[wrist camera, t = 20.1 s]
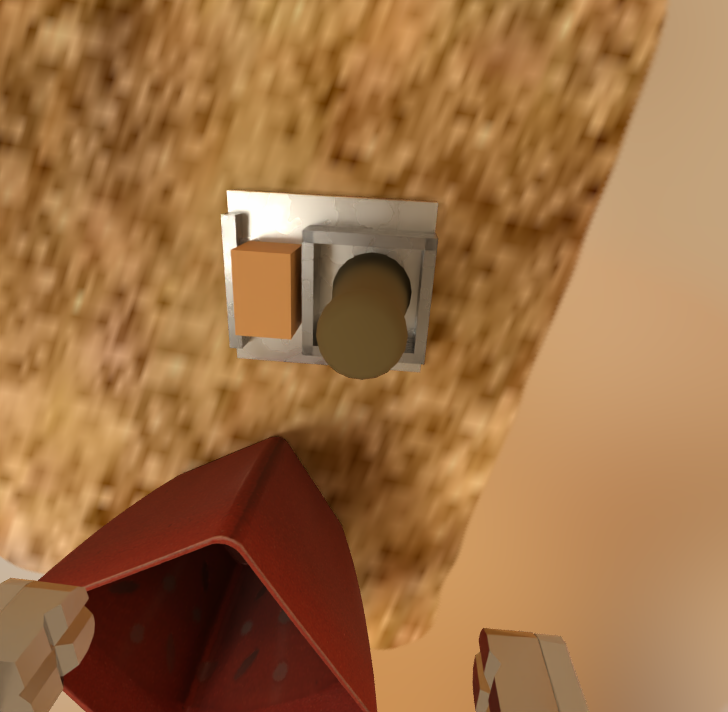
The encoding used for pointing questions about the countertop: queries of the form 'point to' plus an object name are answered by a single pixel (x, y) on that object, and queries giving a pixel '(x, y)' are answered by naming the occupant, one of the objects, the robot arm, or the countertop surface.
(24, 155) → the countertop surface
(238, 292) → the bracket block
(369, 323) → the cork
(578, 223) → the countertop surface
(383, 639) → the countertop surface
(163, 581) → the plant pot
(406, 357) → the grey tray with frame
